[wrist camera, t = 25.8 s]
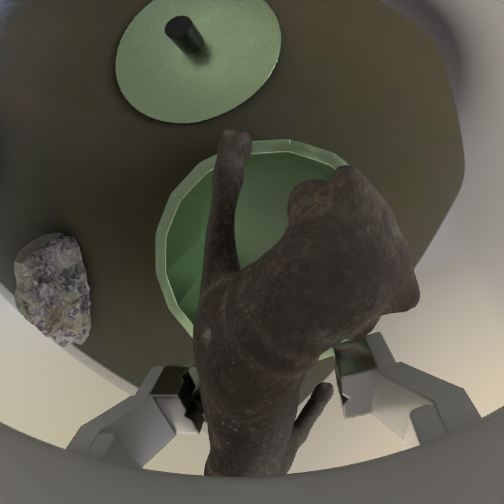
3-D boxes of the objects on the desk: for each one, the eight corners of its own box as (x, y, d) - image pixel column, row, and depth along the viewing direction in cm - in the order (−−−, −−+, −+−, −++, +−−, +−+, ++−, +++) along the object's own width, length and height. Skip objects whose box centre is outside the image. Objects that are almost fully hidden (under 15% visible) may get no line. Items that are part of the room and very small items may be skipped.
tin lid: (256, -29, 19) (252, -55, 14) (302, 98, 23) (307, 83, 18) (113, 22, 21) (90, 6, 16) (135, 147, 26) (107, 146, 21)
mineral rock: (92, 338, 33) (52, 382, 24) (38, 296, 33) (-7, 328, 23) (115, 261, 29) (59, 299, 20) (51, 217, 29) (-8, 238, 19)
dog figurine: (321, 415, 12) (325, 550, 5) (206, 400, 13) (160, 529, 6) (390, 157, 9) (568, 169, 2) (221, 132, 9) (66, 76, 2)
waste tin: (339, 133, 24) (371, 116, 15) (366, 292, 28) (397, 344, 19) (175, 173, 26) (126, 179, 17) (220, 321, 30) (198, 379, 21)
